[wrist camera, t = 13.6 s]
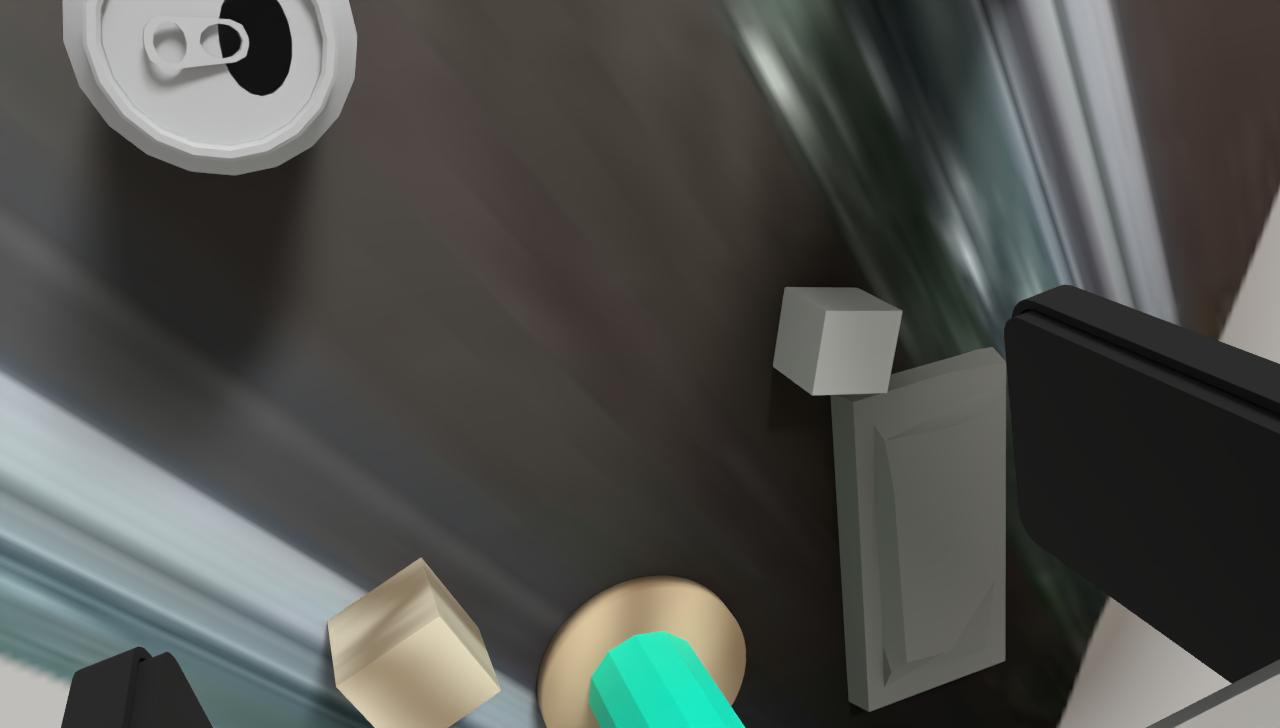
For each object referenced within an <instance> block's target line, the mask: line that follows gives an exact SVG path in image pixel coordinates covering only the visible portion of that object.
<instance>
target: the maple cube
mask: <svg viewBox="0 0 1280 728" xmlns="http://www.w3.org/2000/svg"><path fill="white" fill-rule="evenodd" d="M327 623H328V630H329V638H330V645H331V652H332V660H333V667H334V674H335V682H336V687H337V688H338V689H339V690H340V691H341V692H342V694H343V695H344V696H345V697H346V698H347V699H348V700H349V701H350V702H351V703H352V704H353V705H354V706H355V707H356V708H357V709H358V710H359V711H360V713H361V714H362V715H363V716H364V717H365V718H366V719H367V720H368V721H369V722H370V723H371V724H372V725H373V726H374V727H375V728H448V727H450V726H451V725H453V724H454V723H456V722H457V721H458V720H460V719H461V718H463V717H464V716H466V715H467V714H468V713H470V712H471V711H473V710H474V709H476V708H477V707H478V706H480V705H481V704H483V703H484V702H486V701H487V700H488V699H490V698H491V697H493V696H494V695H496V694H497V693H498V692H500V691H501V688H500V686H499V683H498V680H497V677H496V675H495V672H494V669H493V667H492V664H491V661H490V658H489V656H488V653H487V650H486V647H485V645H484V642H483V639H482V636H481V634H480V631H479V628H478V627H477V626H476V624H475V623H474V622H473V621H472V619H471V618H470V617H469V616H468V615H467V613H466V612H465V611H464V610H463V608H462V607H461V606H460V605H459V603H458V602H457V601H456V600H455V599H454V597H453V596H452V595H451V594H450V592H449V591H448V590H447V589H446V587H445V586H444V585H443V584H442V582H441V581H440V580H439V579H438V578H437V576H436V575H435V574H434V573H433V571H432V570H431V569H430V568H429V566H428V565H427V564H426V563H425V562H424V560H423V559H422V558H419V559H418V560H417V561H415V562H414V563H412V564H411V565H409V566H408V567H406V568H405V569H403V570H402V571H400V572H399V573H397V574H396V575H394V576H393V577H391V578H390V579H388V580H387V581H386V582H384V583H383V584H381V585H380V586H378V587H377V588H375V589H374V590H372V591H371V592H369V593H368V594H366V595H365V596H363V597H362V598H360V599H359V600H358V601H356V602H355V603H353V604H352V605H350V606H349V607H347V608H346V609H344V610H343V611H341V612H340V613H338V614H337V615H335V616H334V617H332V618H331V619H329V620H328V621H327Z"/></svg>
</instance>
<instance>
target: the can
mask: <svg viewBox="0 0 1280 728" xmlns="http://www.w3.org/2000/svg"><path fill="white" fill-rule="evenodd" d="M63 41H64V44H65V47H66V50H67V53H68V55H69V58H70V61H71V64H72V67H73V69H74V72H75V75H76V78H77V81H78V84H79V86H80V88H81V89H82V90H83V92H84V93H85V94H86V96H87V97H88V98H89V100H90V101H91V102H92V104H93V105H94V107H95V108H96V109H97V111H98V112H99V113H100V115H101V116H102V117H103V119H104V120H105V121H106V123H107V124H108V125H109V126H110V127H111V128H113V129H114V130H115V131H117V132H118V133H119V134H121V135H122V136H123V137H125V138H126V139H127V140H128V141H130V142H131V143H132V144H134V145H135V146H136V147H138V148H139V149H140V150H142V151H143V152H144V153H146V154H147V155H150V156H152V157H155V158H157V159H160V160H162V161H165V162H167V163H170V164H173V165H175V166H178V167H180V168H183V169H185V170H188V171H191V172H202V173H213V174H224V175H240V174H245V173H250V172H254V171H259V170H264V169H269V168H273V167H277V166H279V165H281V164H283V163H284V162H286V161H288V160H290V159H291V158H293V157H295V156H297V155H298V154H300V153H302V152H304V151H305V150H307V149H309V148H310V147H312V146H313V145H314V144H315V143H316V142H317V141H318V140H319V138H320V137H321V136H322V135H323V134H324V133H325V132H326V130H327V129H328V128H329V127H330V126H331V125H332V124H333V122H334V121H335V120H336V119H337V118H338V117H339V115H340V113H341V110H342V108H343V105H344V103H345V100H346V98H347V96H348V93H349V91H350V88H351V86H352V83H353V81H354V78H355V64H356V49H357V33H356V29H355V25H354V21H353V17H352V13H351V8H350V4H349V0H63Z"/></svg>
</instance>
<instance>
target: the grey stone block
mask: <svg viewBox="0 0 1280 728" xmlns="http://www.w3.org/2000/svg"><path fill="white" fill-rule="evenodd" d="M902 312H903V311H902V310H900V309H898V308H896V307H894V306H892V305H890V304H888V303H886V302H884V301H882V300H880V299H879V298H877V297H875V296H873V295H871V294H869V293H867V292H865V291H863V290H861V289H859V288H834V287H785V289H784V296H783V302H782V309H781V315H780V322H779V329H778V335H777V342H776V348H775V355H774V362H773V367H774V368H775V369H777V370H778V371H780V372H781V373H782V374H784V375H785V376H786V377H788V378H789V379H790V380H792V381H793V382H794V383H796V384H797V385H799V386H800V387H801V388H803V389H804V390H805V391H807V392H808V393H809V394H811V395H842V394H871V393H887V391H888V385H889V380H890V375H891V370H892V364H893V359H894V354H895V349H896V343H897V338H898V333H899V328H900V322H901V317H902Z"/></svg>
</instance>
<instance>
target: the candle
mask: <svg viewBox="0 0 1280 728" xmlns="http://www.w3.org/2000/svg"><path fill="white" fill-rule="evenodd" d="M589 704H590V707H591V709H592V711H593V713H594V715H595V717H596V719H597V721H598V723H599V725H600V727H601V728H745V727H744V725H743V724H742V722H741V721H740V719H739V718H738V716H737V715H736V713H735V712H734V710H733V709H732V707H731V706H730V704H729V703H728V701H727V700H726V698H725V697H724V695H723V694H722V692H721V691H720V689H719V688H718V686H717V685H716V683H715V682H714V680H713V679H712V677H711V676H710V674H709V673H708V671H707V670H706V668H705V667H704V665H703V664H702V662H701V661H700V659H699V658H698V656H697V655H696V653H695V652H694V650H693V649H692V648H691V646H690V645H689V643H688V642H687V641H686V640H683V639H681V638H679V637H677V636H674V635H672V634H670V633H667V632H665V631H662V632H654V633H646V634H638V635H634V636H633V637H631V638H629V639H628V640H626V641H625V642H623V643H621V644H620V645H618V646H616V647H615V648H613V649H612V650H610V651H608V653H607V654H606V656H605V657H604V659H603V660H602V662H601V663H600V664H599V666H598V667H597V669H596V670H595V672H594V673H593V675H592V676H591V684H590V695H589Z"/></svg>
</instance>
